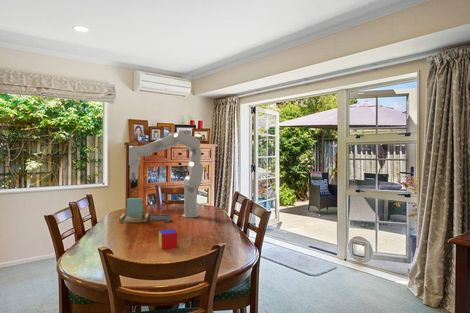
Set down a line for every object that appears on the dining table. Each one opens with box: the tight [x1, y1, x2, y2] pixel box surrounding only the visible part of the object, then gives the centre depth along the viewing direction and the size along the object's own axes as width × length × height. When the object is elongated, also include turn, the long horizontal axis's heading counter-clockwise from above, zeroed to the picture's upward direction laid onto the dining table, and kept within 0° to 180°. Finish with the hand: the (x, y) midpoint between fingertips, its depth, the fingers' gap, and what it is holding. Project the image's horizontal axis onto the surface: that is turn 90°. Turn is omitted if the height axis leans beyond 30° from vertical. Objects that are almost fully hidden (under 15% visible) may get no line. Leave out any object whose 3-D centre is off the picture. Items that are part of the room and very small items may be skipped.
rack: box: [118, 212, 150, 224], centre depth 223 cm, size 16×18×4 cm
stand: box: [149, 214, 171, 223], centre depth 224 cm, size 8×14×4 cm, turn 100°
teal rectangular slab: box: [126, 197, 143, 216], centre depth 223 cm, size 2×10×15 cm, turn 100°
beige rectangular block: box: [124, 216, 143, 223], centre depth 218 cm, size 5×12×3 cm, turn 100°
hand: (134, 187), depth 222 cm, fingers open, 9 cm apart
